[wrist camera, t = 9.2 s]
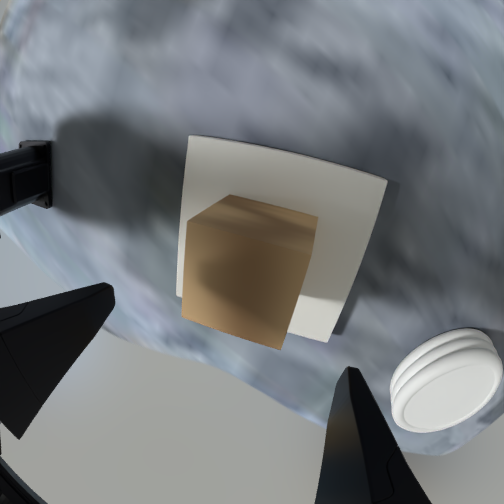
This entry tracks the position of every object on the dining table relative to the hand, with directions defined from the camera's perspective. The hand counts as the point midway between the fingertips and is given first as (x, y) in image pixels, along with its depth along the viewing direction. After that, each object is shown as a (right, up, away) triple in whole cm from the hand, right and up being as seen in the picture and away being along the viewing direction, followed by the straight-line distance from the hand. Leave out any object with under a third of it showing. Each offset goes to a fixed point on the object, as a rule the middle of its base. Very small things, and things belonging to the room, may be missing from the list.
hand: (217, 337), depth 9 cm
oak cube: (+2, +3, +7) cm, 8 cm away
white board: (+2, +4, +8) cm, 9 cm away
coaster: (+17, -7, +8) cm, 20 cm away
